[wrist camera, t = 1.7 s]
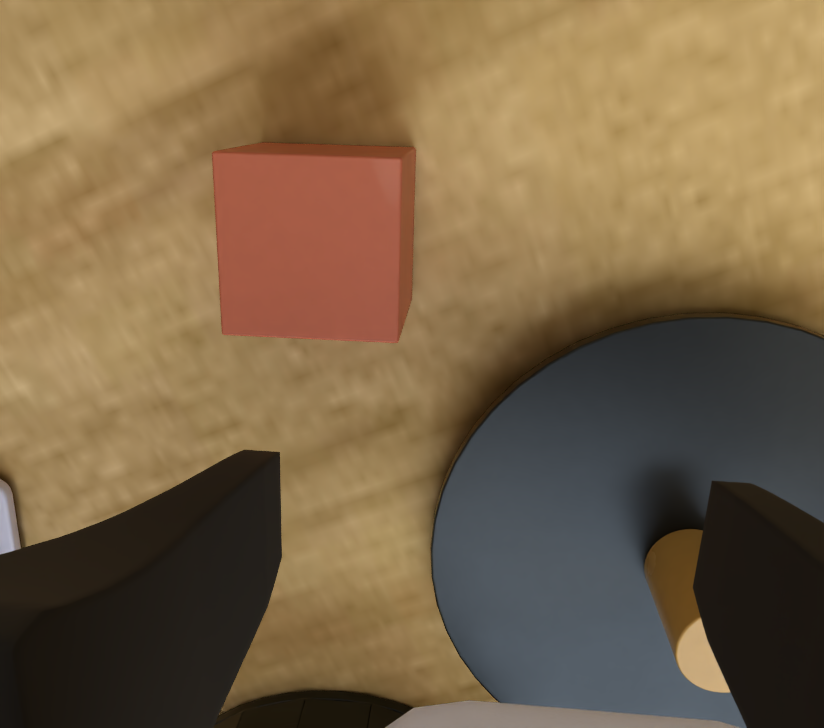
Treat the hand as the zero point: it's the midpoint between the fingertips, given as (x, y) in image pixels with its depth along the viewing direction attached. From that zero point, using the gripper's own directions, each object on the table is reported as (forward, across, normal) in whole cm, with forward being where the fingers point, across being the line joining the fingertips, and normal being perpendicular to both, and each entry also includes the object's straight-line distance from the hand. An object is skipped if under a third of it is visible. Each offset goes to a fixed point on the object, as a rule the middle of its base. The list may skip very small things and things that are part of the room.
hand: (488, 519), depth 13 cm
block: (+9, +4, -4) cm, 10 cm away
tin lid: (+8, -6, +5) cm, 12 cm away
